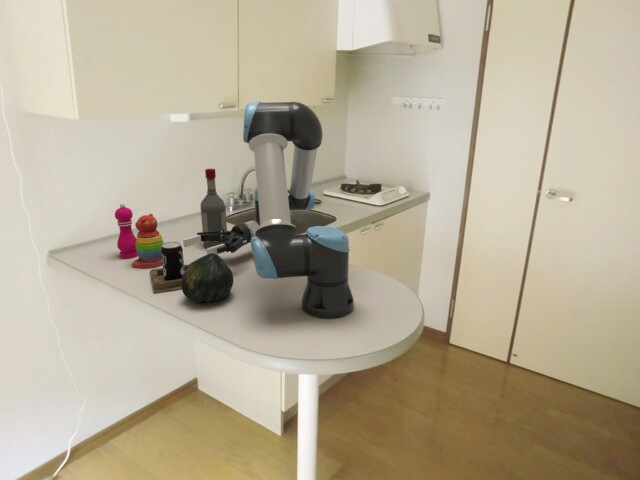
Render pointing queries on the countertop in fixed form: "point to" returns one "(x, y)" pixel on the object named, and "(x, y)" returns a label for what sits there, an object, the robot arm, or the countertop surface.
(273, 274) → the robot arm
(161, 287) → the brown wooden flat tray
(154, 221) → the stacking bear
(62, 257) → the countertop surface
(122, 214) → the pepper mill
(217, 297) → the squash
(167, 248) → the beverage can
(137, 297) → the countertop surface
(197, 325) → the countertop surface
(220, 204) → the liquor
